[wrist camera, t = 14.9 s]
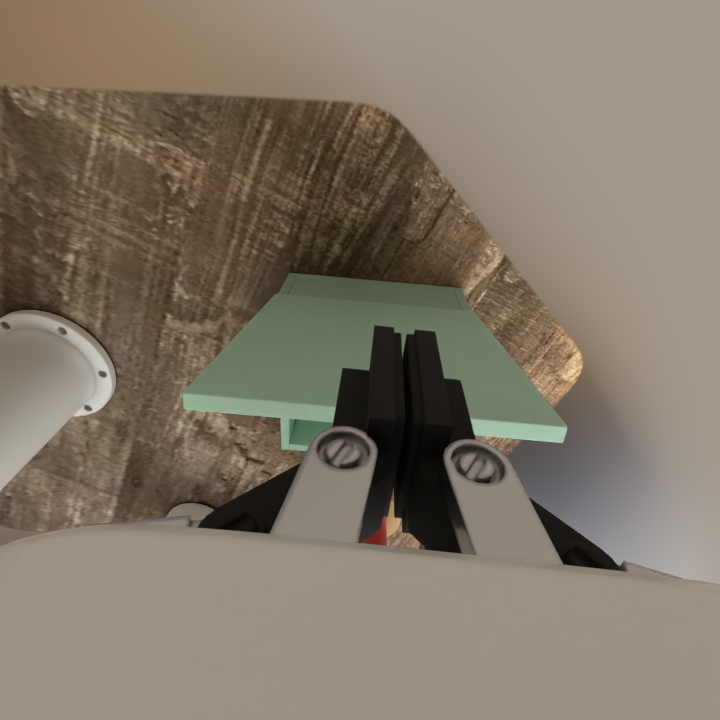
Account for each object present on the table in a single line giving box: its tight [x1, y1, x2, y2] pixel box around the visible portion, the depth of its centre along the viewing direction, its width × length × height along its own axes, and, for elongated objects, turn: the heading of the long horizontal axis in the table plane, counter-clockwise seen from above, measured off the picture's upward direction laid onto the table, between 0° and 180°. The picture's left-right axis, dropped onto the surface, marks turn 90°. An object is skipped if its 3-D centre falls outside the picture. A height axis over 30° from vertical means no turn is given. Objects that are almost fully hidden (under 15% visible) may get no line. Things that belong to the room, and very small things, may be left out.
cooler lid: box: [182, 294, 567, 443], centre depth 25 cm, size 18×16×1 cm
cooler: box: [278, 273, 471, 451], centre depth 40 cm, size 17×16×5 cm
